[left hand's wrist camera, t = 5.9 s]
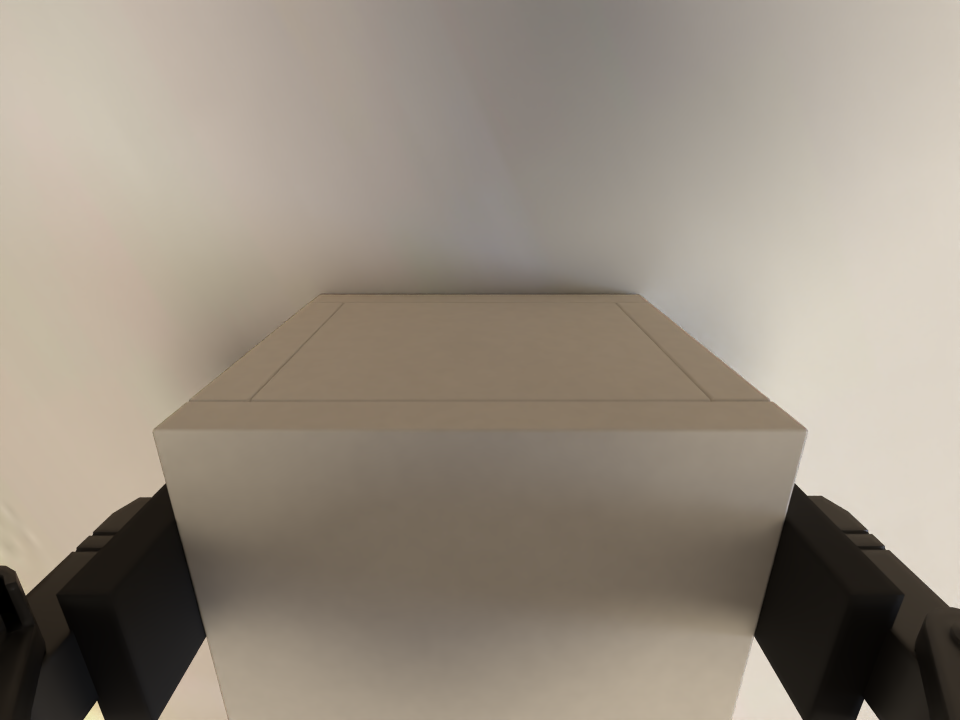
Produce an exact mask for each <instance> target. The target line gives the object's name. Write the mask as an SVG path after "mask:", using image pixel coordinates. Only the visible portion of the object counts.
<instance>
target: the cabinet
mask: <svg viewBox="0 0 960 720" xmlns="http://www.w3.org/2000/svg"><path fill="white" fill-rule="evenodd" d="M807 434H808V430H807V429H806V428H805V427H804V426H803V425H802V424H800V423H799V422H798V421H797V420H795V419H794V418H793V417H792V416H790V415H789V414H788V413H787V412H785V411H784V410H783V409H782V408H780V407H779V406H778V405H777V404H775V403H774V402H770V399H769V398H767V397H766V396H765V395H764V394H762V393H761V392H760V391H759V390H758V389H756V388H755V387H754V386H753V385H751V384H750V383H749V382H748V381H746V380H745V379H744V378H743V377H741V376H740V375H739V374H738V373H736V372H735V371H734V370H733V369H731V368H730V367H729V366H728V365H727V364H725V363H724V362H723V361H722V360H720V359H719V358H718V357H717V356H715V355H714V354H713V353H712V352H710V351H709V350H708V349H707V348H705V347H704V346H703V345H702V344H700V343H699V342H698V341H697V340H696V339H694V338H693V337H692V336H691V335H689V334H688V333H687V332H686V331H684V330H683V329H682V328H681V327H679V326H678V325H677V324H676V323H674V322H673V321H672V320H671V319H670V318H668V317H667V316H666V315H665V314H663V313H662V312H661V311H660V310H658V309H657V308H656V307H655V306H653V305H652V304H651V303H650V302H648V301H647V300H646V299H645V298H643V297H642V296H641V295H613V294H321V295H319V296H317V297H316V298H315V299H314V300H312V301H311V302H310V303H308V304H307V305H306V306H304V307H303V308H302V309H301V310H300V311H298V312H297V313H296V314H295V315H293V316H292V317H291V318H290V319H288V320H287V321H286V322H285V323H284V324H282V325H281V326H280V327H279V328H277V329H276V330H275V331H274V332H272V333H271V334H270V335H269V336H267V337H266V338H265V339H264V340H263V341H261V342H260V343H259V344H258V345H256V346H255V347H254V348H253V349H251V350H250V351H249V352H248V353H247V354H245V355H244V356H243V357H242V358H240V359H239V360H238V361H237V362H235V363H234V364H233V365H232V366H231V367H229V368H228V369H227V370H226V371H224V372H223V373H222V374H221V375H219V376H218V377H217V378H216V379H214V380H213V381H212V382H211V383H210V384H208V385H207V386H206V387H205V388H203V389H202V390H201V391H200V392H198V393H197V394H196V395H195V396H194V397H192V398H191V399H190V400H189V402H187V403H185V404H184V405H183V406H182V407H180V408H179V409H178V410H177V411H175V412H174V413H173V414H172V415H170V416H169V417H168V418H167V419H166V420H164V421H163V422H162V423H161V424H159V425H158V426H157V427H156V428H154V430H153V436H154V439H155V443H156V447H157V451H158V455H159V458H160V462H161V466H162V470H163V474H164V477H165V481H166V485H167V489H168V493H169V496H170V500H171V504H172V508H173V511H174V515H175V519H176V523H177V527H178V530H179V534H180V538H181V542H182V546H183V549H184V553H185V557H186V561H187V565H188V568H189V572H190V576H191V580H192V584H193V587H194V591H195V595H196V599H197V603H198V606H199V610H200V614H201V618H202V622H203V625H204V629H205V633H206V637H207V641H208V644H209V648H210V652H211V656H212V659H213V663H214V667H215V671H216V675H217V678H218V682H219V686H220V690H221V694H222V697H223V701H224V705H225V709H226V713H227V716H228V720H732V717H733V713H734V709H735V706H736V702H737V698H738V694H739V691H740V687H741V683H742V679H743V676H744V672H745V668H746V664H747V660H748V657H749V653H750V649H751V645H752V642H753V638H754V634H755V630H756V626H757V623H758V619H759V615H760V611H761V608H762V604H763V600H764V596H765V593H766V589H767V585H768V581H769V577H770V574H771V570H772V566H773V562H774V559H775V555H776V551H777V547H778V543H779V540H780V536H781V532H782V528H783V525H784V521H785V517H786V513H787V510H788V506H789V502H790V498H791V494H792V491H793V487H794V483H795V479H796V476H797V472H798V468H799V464H800V461H801V457H802V453H803V449H804V445H805V442H806V438H807Z"/></svg>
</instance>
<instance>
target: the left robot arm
mask: <svg viewBox="0 0 960 720" xmlns="http://www.w3.org/2000/svg"><path fill="white" fill-rule="evenodd" d="M754 637H755V638H756V640H757V642H758V644H759V645H760V647H761V649H762V650H763V652H764V654H765V656H766V657H767V659H768V661H769V662H770V664H771V666H772V668H773V669H774V671H775V673H776V675H777V676H778V678H779V680H780V681H781V683H782V685H783V687H784V688H785V690H786V692H787V693H788V695H789V697H790V699H791V700H792V702H793V704H794V705H795V707H796V709H797V711H798V712H799V714H800V716H801V717H802V719H803V720H856V719H857V716H858V714H859V711H860V708H861V706H862V703H863V701H864V699H865V701H866V702H867V703H868V705H869V706H870V707H871V709H872V710H873V712H874V713H875V714H876V716H877V717H878V719H879V720H960V609H958V608H953V607H949V606H948V605H947V604H946V603H945V602H944V601H943V600H942V599H941V598H940V597H938V596H937V595H936V594H935V593H934V592H933V591H932V590H931V589H930V588H929V587H928V586H927V585H926V584H925V583H924V582H923V581H921V580H920V579H919V578H918V577H917V576H916V575H915V574H914V573H913V572H912V571H911V570H910V569H909V568H908V567H907V566H906V565H904V564H903V563H902V562H901V561H900V560H899V559H898V558H897V557H896V556H895V555H894V554H893V553H892V552H891V551H890V550H886V549H885V546H884V545H883V544H882V543H881V542H880V541H879V540H878V539H877V538H876V537H875V536H874V535H873V534H869V533H868V530H867V529H866V528H865V527H864V526H863V525H862V524H861V523H860V522H859V521H858V520H857V519H856V518H854V517H853V516H852V515H851V514H850V513H849V512H848V511H846V510H845V509H843V508H841V507H839V506H838V505H836V504H834V503H833V502H831V501H829V500H828V499H826V498H824V497H823V496H807V495H806V494H805V493H804V492H803V491H802V490H801V489H800V488H799V487H798V486H797V485H796V484H795V483H794V487H793V491H792V494H791V498H790V502H789V506H788V510H787V513H786V517H785V521H784V525H783V528H782V532H781V536H780V540H779V543H778V547H777V551H776V555H775V559H774V562H773V566H772V570H771V574H770V577H769V581H768V585H767V589H766V593H765V596H764V600H763V604H762V608H761V611H760V615H759V619H758V623H757V626H756V630H755V634H754ZM205 638H206V633H205V629H204V625H203V622H202V618H201V614H200V610H199V606H198V603H197V599H196V595H195V591H194V587H193V584H192V580H191V576H190V572H189V568H188V565H187V561H186V557H185V553H184V549H183V546H182V542H181V538H180V534H179V530H178V527H177V523H176V519H175V515H174V511H173V508H172V504H171V500H170V496H169V493H168V489H167V485H166V484H165V485H164V486H163V487H162V488H161V489H160V490H159V491H158V492H157V493H156V494H155V495H154V496H153V497H139V498H138V499H136V500H134V501H133V502H131V503H129V504H128V505H126V506H124V507H123V508H121V509H119V510H118V511H116V512H114V513H113V514H112V515H111V516H110V517H108V518H107V519H106V520H105V521H104V522H103V523H102V524H101V525H100V526H99V527H98V528H97V529H96V530H95V531H94V532H93V535H92V536H88V537H87V538H86V539H85V540H84V541H83V542H82V543H81V544H80V545H79V546H78V547H77V550H76V552H72V553H70V554H69V555H68V556H67V557H66V558H65V559H64V560H63V561H62V562H61V563H60V564H59V565H58V566H57V567H56V568H55V569H54V570H53V571H51V572H50V573H49V574H48V575H47V576H46V577H45V578H44V579H43V580H42V581H41V582H40V583H39V584H38V585H37V586H36V587H35V588H34V589H32V590H31V591H30V592H29V593H28V594H27V595H25V593H24V591H23V588H22V586H21V584H20V581H19V579H18V576H17V574H16V572H15V571H14V570H12V569H10V568H9V567H7V566H0V720H84V718H85V717H86V715H87V714H88V713H89V711H90V710H91V708H92V707H93V706H94V704H95V703H96V701H98V704H99V706H100V709H101V712H102V714H103V717H104V719H105V720H158V718H159V717H160V715H161V713H162V712H163V710H164V708H165V706H166V705H167V703H168V701H169V700H170V698H171V696H172V694H173V693H174V691H175V689H176V687H177V686H178V684H179V682H180V681H181V679H182V677H183V675H184V674H185V672H186V670H187V669H188V667H189V665H190V663H191V662H192V660H193V658H194V657H195V655H196V653H197V651H198V650H199V648H200V646H201V644H202V643H203V641H204V639H205Z"/></svg>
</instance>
